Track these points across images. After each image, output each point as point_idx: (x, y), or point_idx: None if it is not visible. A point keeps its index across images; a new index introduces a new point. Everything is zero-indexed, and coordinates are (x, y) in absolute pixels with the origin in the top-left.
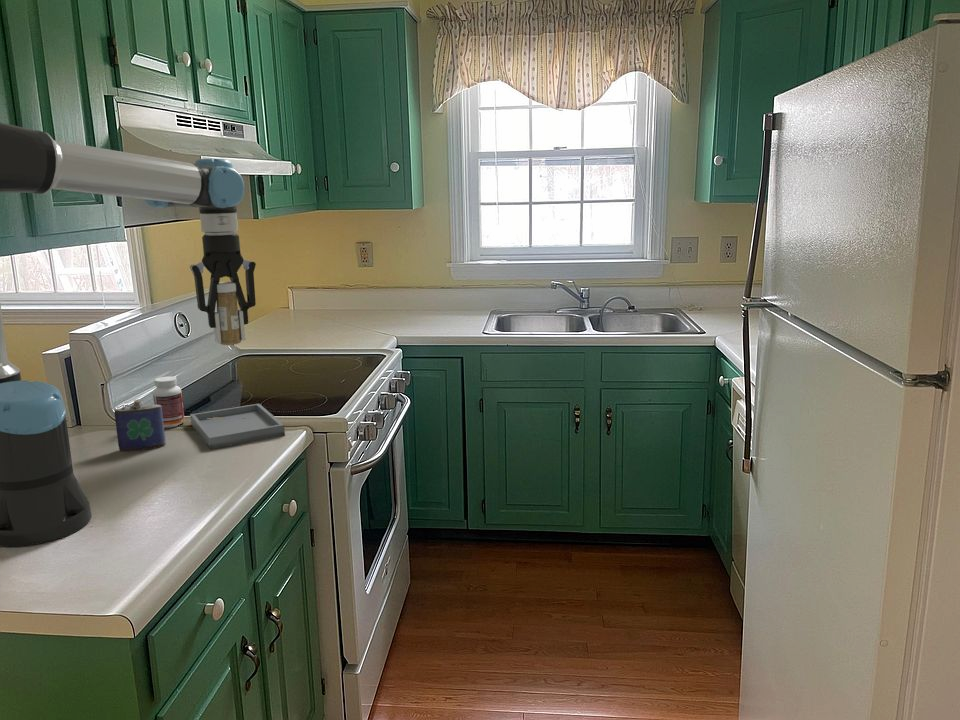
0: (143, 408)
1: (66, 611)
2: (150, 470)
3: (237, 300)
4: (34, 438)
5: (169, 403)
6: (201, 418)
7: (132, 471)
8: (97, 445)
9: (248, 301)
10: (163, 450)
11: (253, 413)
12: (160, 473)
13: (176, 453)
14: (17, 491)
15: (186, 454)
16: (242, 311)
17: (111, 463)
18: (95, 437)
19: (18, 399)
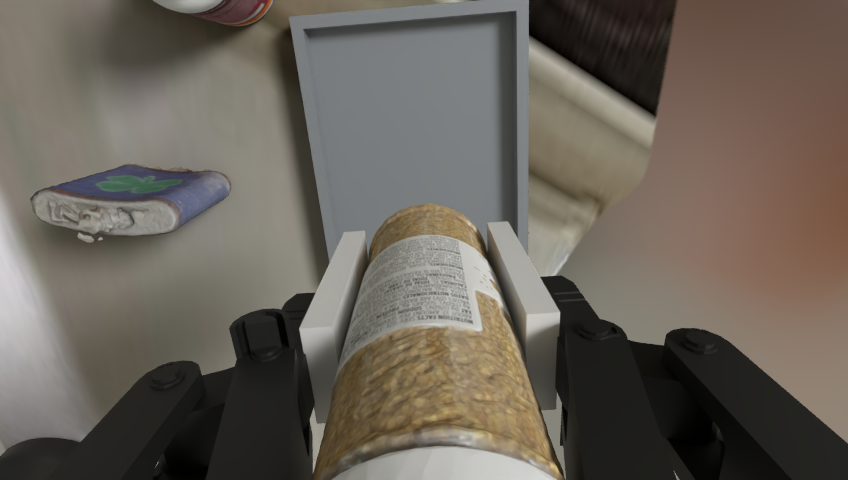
0: (123, 209)
1: None
2: (211, 341)
3: (570, 383)
4: None
5: (204, 17)
6: (327, 28)
7: (174, 331)
8: (44, 98)
9: (674, 403)
10: (229, 227)
11: (493, 40)
12: (233, 366)
13: (260, 263)
14: None
15: (283, 280)
16: (551, 408)
17: (118, 262)
18: (14, 6)
19: None
